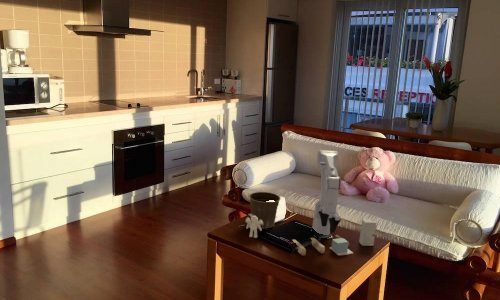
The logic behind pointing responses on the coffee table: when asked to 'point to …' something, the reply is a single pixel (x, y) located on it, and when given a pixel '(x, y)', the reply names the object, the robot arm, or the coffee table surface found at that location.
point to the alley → (314, 243)
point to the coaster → (344, 252)
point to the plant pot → (264, 208)
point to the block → (339, 245)
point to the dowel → (339, 237)
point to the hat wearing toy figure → (253, 225)
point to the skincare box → (367, 232)
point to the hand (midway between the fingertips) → (328, 229)
